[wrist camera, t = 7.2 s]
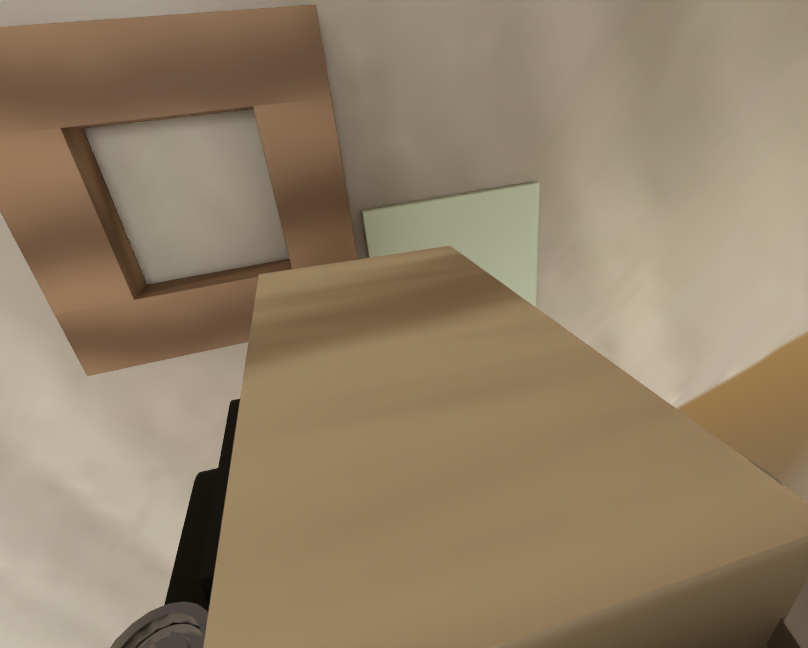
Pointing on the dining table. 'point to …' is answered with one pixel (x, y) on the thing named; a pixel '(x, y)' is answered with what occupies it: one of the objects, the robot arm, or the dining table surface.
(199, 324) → the cradle board
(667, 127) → the dining table surface
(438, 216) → the pad
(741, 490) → the beech block
